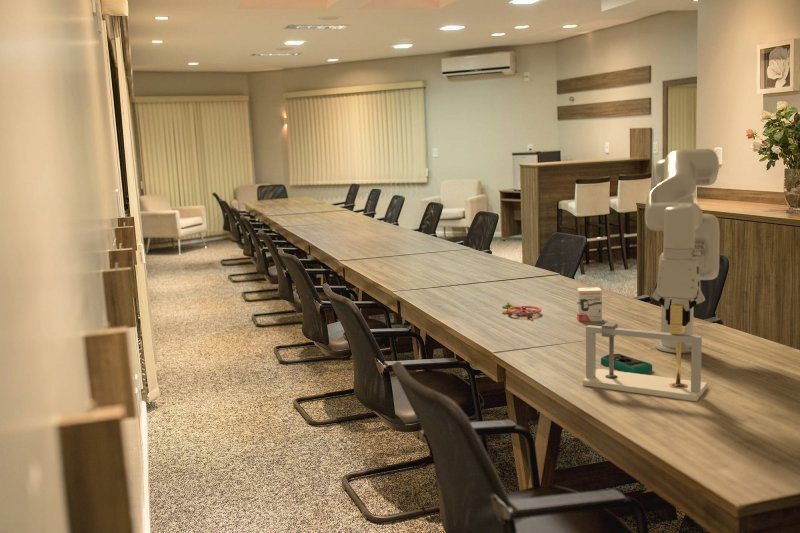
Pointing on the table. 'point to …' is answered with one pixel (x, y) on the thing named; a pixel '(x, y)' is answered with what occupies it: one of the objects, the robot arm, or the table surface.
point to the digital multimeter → (628, 364)
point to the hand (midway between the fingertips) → (677, 323)
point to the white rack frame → (640, 381)
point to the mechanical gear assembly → (521, 310)
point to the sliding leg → (677, 328)
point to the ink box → (589, 304)
